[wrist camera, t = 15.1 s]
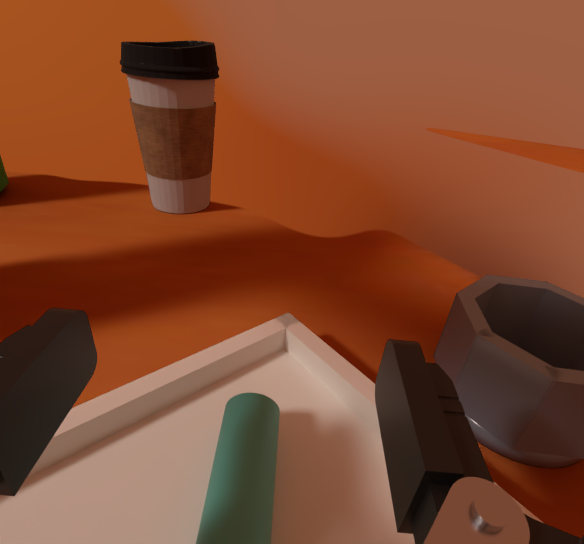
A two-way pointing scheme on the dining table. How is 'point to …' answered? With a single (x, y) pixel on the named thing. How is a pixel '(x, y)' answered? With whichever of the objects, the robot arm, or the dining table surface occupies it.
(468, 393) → the cup
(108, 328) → the dining table surface
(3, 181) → the bottle
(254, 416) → the green rounded rod
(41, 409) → the robot arm
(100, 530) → the tray
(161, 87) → the coffee cup
